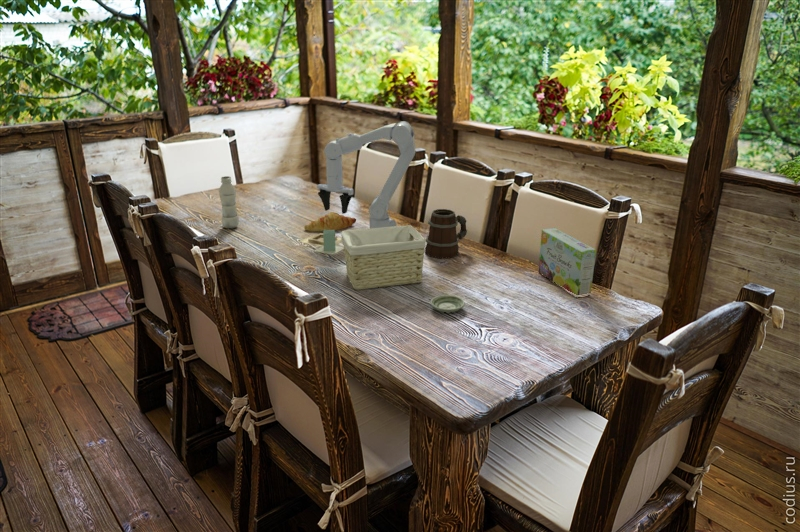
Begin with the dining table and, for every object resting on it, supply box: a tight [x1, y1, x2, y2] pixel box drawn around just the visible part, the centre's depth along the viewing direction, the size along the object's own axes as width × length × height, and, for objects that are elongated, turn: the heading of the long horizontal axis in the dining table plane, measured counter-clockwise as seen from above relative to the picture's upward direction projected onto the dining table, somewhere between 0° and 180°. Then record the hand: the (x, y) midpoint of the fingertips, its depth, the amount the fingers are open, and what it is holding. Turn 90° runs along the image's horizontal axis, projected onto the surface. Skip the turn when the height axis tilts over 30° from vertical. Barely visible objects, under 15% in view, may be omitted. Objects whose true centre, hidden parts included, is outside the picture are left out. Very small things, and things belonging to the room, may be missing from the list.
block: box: [322, 230, 337, 251], centre depth 212 cm, size 4×4×6 cm
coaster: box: [314, 245, 344, 256], centre depth 213 cm, size 8×8×1 cm
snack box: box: [538, 227, 597, 295], centre depth 184 cm, size 21×6×15 cm, turn 21°
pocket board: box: [298, 232, 342, 247], centre depth 221 cm, size 14×11×2 cm
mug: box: [424, 208, 468, 260], centre depth 210 cm, size 16×12×15 cm
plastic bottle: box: [218, 176, 240, 229], centre depth 232 cm, size 6×7×20 cm
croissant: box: [303, 211, 357, 233], centre depth 235 cm, size 21×10×8 cm, turn 116°
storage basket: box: [340, 224, 427, 291], centre depth 188 cm, size 24×16×15 cm
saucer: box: [430, 294, 466, 313], centre depth 170 cm, size 10×10×2 cm
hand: (335, 211), depth 222 cm, fingers open, 7 cm apart
